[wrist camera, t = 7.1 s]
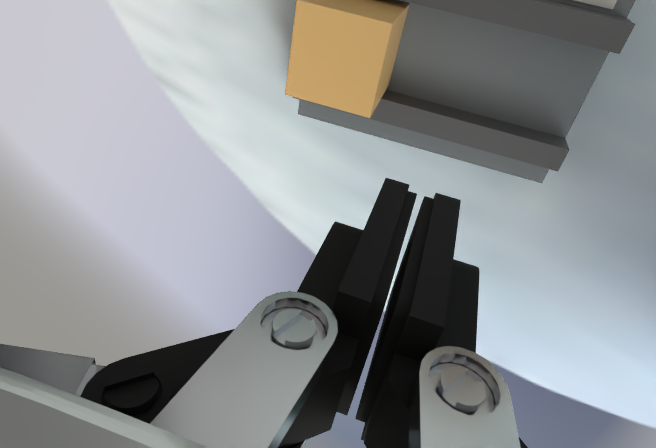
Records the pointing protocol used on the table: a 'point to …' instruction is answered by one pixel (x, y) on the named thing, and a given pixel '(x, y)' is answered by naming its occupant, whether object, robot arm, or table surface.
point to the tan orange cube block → (344, 52)
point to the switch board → (492, 79)
